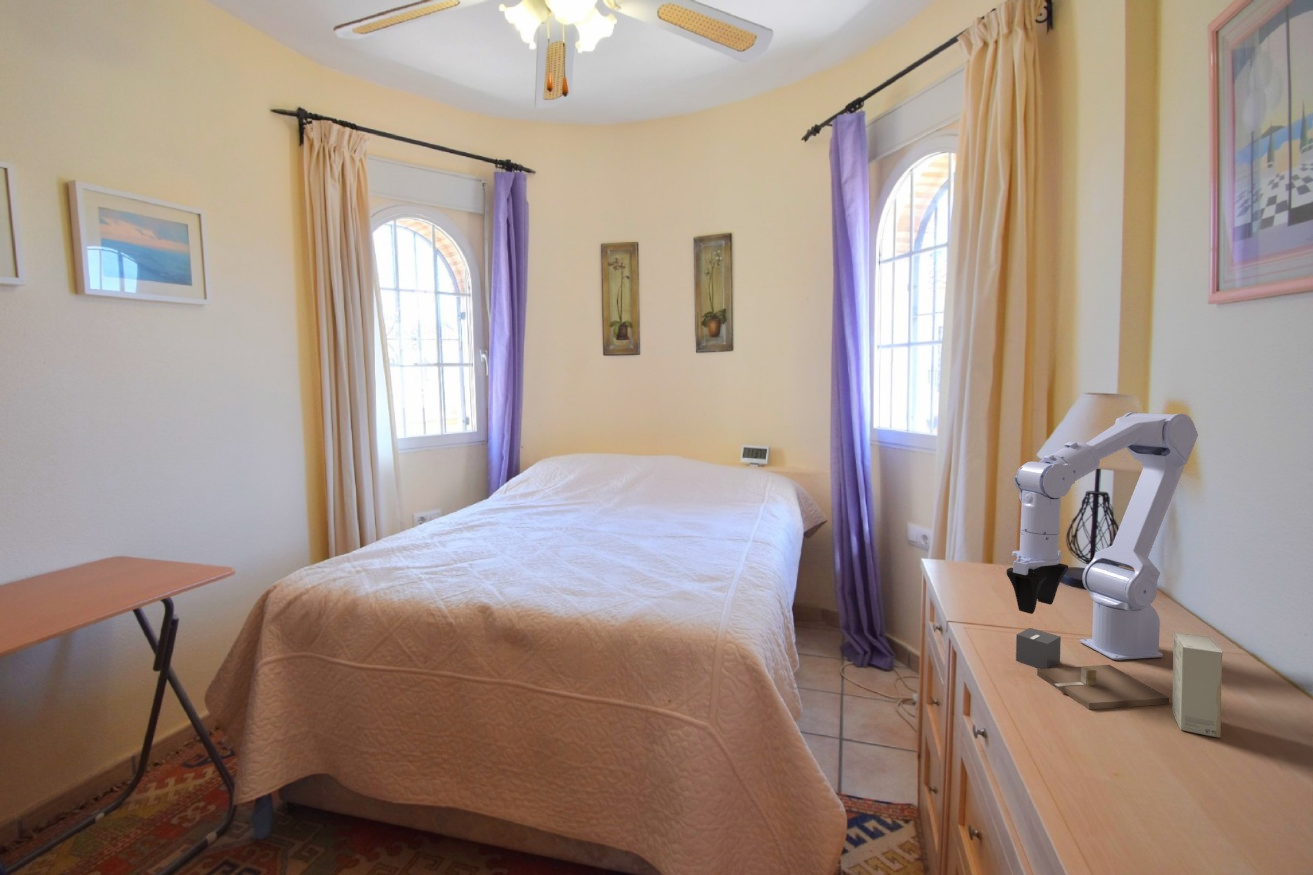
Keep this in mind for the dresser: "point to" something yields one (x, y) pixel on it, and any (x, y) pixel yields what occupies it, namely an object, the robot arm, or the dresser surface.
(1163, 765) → the dresser surface
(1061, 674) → the board
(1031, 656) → the mini file drawer
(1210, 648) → the skincare box
